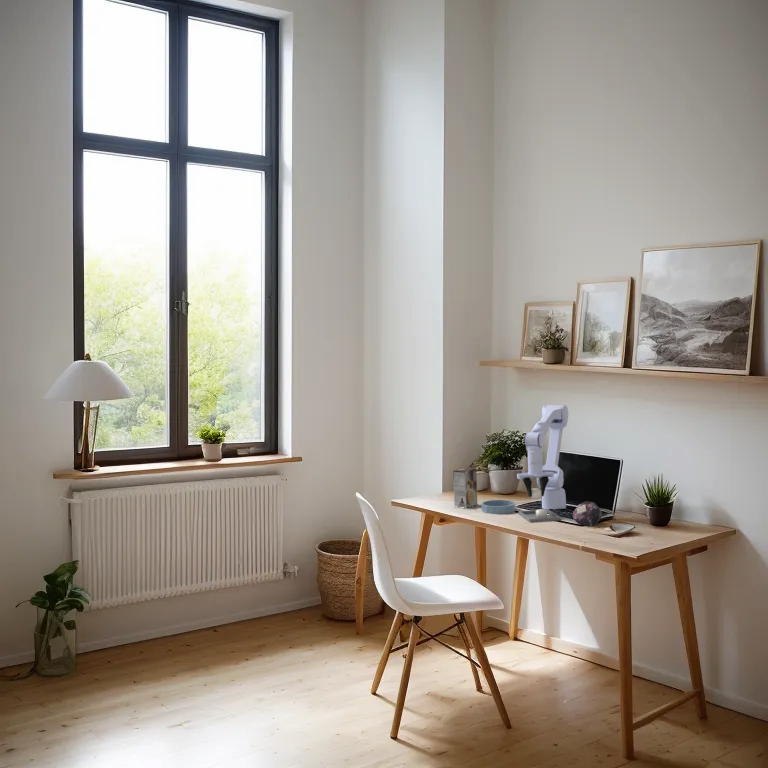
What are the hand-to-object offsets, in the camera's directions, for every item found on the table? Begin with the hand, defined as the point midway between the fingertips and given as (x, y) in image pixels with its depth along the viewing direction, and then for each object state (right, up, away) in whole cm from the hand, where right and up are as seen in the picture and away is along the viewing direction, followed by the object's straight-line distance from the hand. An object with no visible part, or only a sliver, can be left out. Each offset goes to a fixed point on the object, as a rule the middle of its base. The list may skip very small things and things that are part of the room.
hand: (536, 496), depth 346 cm
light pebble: (0, -1, 0) cm, 1 cm away
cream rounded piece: (+1, -8, -6) cm, 10 cm away
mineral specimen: (+17, -10, -17) cm, 26 cm away
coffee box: (-25, -8, +28) cm, 39 cm away
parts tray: (+1, -9, -3) cm, 9 cm away
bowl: (-13, -9, +13) cm, 20 cm away
